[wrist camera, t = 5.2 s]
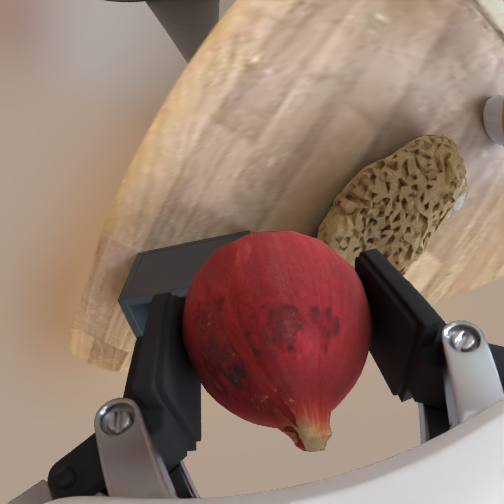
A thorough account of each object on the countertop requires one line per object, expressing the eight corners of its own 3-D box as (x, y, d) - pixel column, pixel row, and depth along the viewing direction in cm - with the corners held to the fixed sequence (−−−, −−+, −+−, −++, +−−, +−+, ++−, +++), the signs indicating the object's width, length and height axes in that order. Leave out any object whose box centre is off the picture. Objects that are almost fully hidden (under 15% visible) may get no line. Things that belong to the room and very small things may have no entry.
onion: (163, 279, 12) (130, 461, 5) (250, 167, 11) (321, 303, 4) (268, 338, 15) (304, 492, 7) (353, 252, 13) (459, 395, 6)
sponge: (410, 115, 27) (259, 220, 26) (471, 133, 20) (307, 267, 20) (427, 207, 35) (310, 305, 34) (473, 234, 28) (349, 351, 28)
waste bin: (165, 324, 34) (157, 377, 26) (138, 253, 29) (117, 300, 22) (263, 306, 34) (276, 359, 27) (250, 230, 30) (261, 273, 22)
